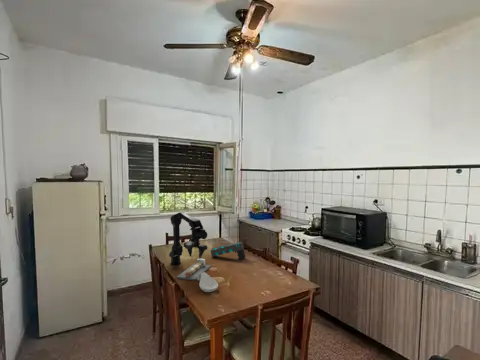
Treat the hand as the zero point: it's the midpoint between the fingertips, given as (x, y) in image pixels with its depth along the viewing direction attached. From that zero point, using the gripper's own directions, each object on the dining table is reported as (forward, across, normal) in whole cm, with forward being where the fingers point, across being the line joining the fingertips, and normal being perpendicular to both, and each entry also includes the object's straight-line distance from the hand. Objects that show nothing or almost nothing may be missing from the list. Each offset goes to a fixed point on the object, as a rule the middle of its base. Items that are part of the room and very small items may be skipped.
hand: (195, 257), depth 194 cm
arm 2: (+9, +2, -2) cm, 10 cm away
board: (+11, 0, -1) cm, 11 cm away
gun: (+11, +2, +41) cm, 42 cm away
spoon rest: (+11, +23, -16) cm, 30 cm away
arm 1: (+9, 0, -3) cm, 10 cm away
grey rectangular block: (+9, -2, +10) cm, 14 cm away
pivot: (+10, -3, +11) cm, 15 cm away
